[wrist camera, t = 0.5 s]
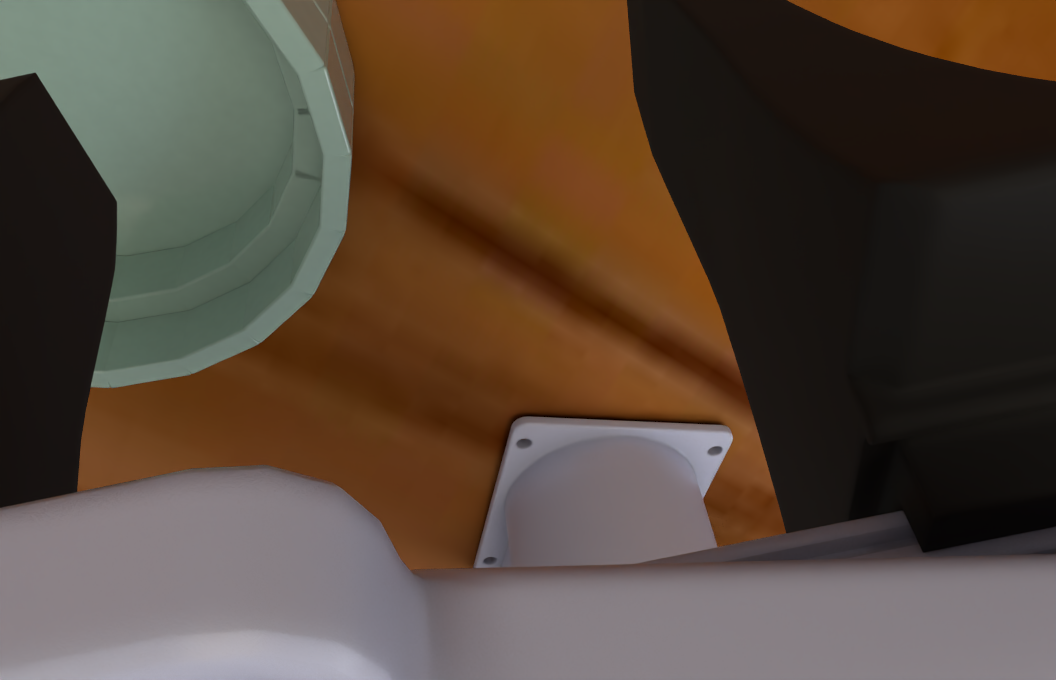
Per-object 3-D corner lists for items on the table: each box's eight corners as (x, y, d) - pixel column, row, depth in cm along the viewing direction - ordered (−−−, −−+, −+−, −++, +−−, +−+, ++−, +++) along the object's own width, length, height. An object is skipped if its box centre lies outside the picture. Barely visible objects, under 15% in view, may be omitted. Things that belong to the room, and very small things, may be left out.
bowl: (337, 294, 27) (332, 399, 24) (-160, 259, 25) (-234, 373, 22) (374, -186, 19) (374, -116, 16) (-375, -321, 16) (-546, -267, 13)
